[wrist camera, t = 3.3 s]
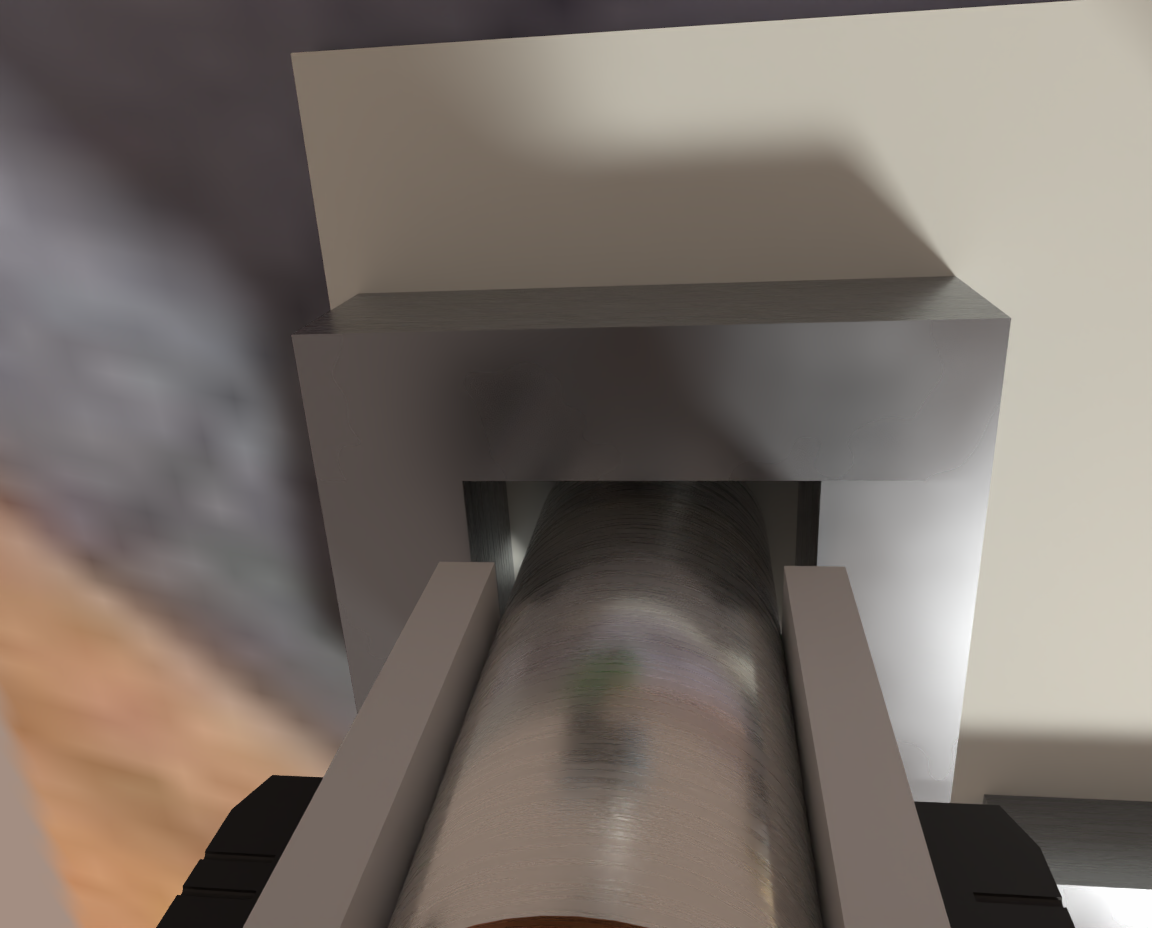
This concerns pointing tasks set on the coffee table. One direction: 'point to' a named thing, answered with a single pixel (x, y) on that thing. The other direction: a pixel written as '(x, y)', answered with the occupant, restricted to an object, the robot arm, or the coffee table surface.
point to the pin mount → (673, 444)
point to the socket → (1092, 854)
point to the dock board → (831, 272)
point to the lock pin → (627, 731)
